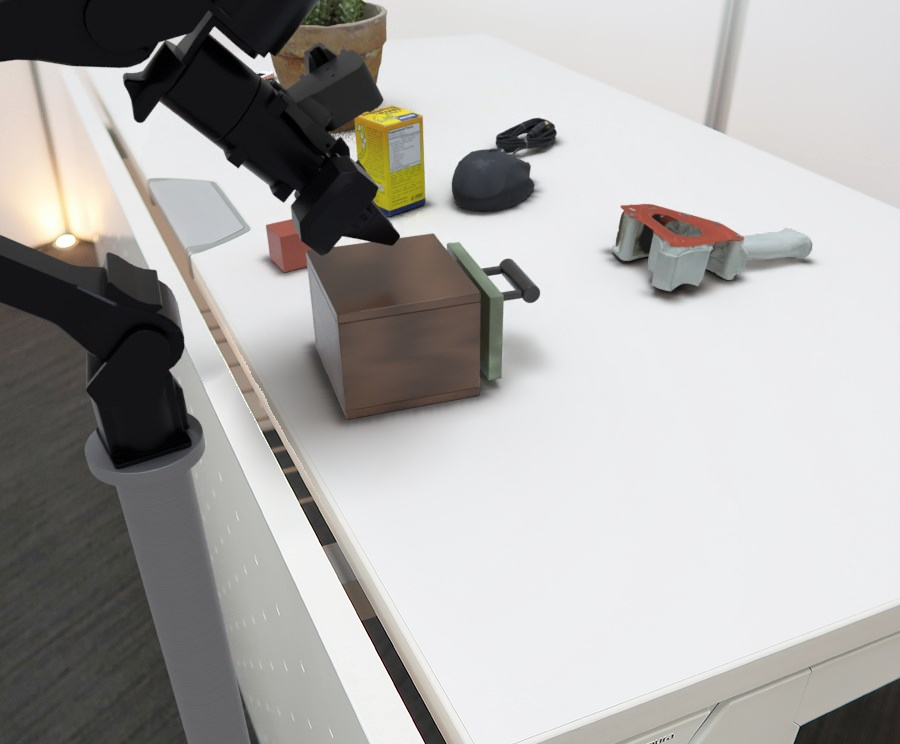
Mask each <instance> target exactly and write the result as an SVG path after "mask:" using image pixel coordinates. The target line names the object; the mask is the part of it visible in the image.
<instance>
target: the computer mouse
mask: <svg viewBox="0 0 900 744" xmlns="http://www.w3.org/2000/svg"><path fill="white" fill-rule="evenodd" d="M557 132H558V131H557V130H556V125H555V124H554V123H553V122H551V121H550V120H548V119H546V118H541V117H534V118H530V119H527V120H525V121H522V122H520V123H519V124H516V125H514V126H512V127H509V128H508V129H506V130H504V131H502V132H499V133H498V134H496V136H495V142H494V143H495V146H496V148H490V149H489V148H488V149H487V148H485V149H478V150H473V151H470V152H469V153H468V154H466V155H464V157H462V159H461V160H459V161H458V163H457V165H456V167H455V169H454V172H453V174H452V179H451V193H452V197H453V199H454V202H455V203H456V204H457V205H458V206H459V207H461V208H462V209H465V210H469V211H475V212H494V211H501V210H504V209H508V208H511V207H514V206H516V205H518V204H520V203H521V202H523V200H524V199H526V198H527V197H528V196H529V195H530V194H531V193H532V191H533V190H534V189H535V182H534V180H533V179H532V178H531V177H530V176H531V168H532V165H531V163H530V162H528V161H525V160H523V159H520V158H519V157H517V156H516V154H517V153H518V152H520V151H522V150H528V149H529V150H532V149H538V148H543V147H545V146H549V145H551V144H554V143H555V141H556V139H557V138H556V136H557V134H558V133H557ZM524 134H526V135H525V137H519V136H521V135H524Z"/></svg>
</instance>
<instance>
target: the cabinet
mask: <svg viewBox="0 0 900 744" xmlns="http://www.w3.org/2000/svg"><path fill="white" fill-rule="evenodd" d="M306 257H307V267H306V268H307V274H308V276H307V277H308V284H309V294H310V303H311V304H310V305H311V313H312V314H311V315H312V320H313V322H312V323H313V332H314V340H315V341H314V342H315V348H316V350H317V353H318V355H319V358H320V360H321V362H322V365H323V367H324V370H325V372H326V375H327V377H328V379H329V382H330V384H331V386H332V389H333V391H334V393H335V395H336V399H337V401H338V403H339V406H340V407H341V410H342V412H343V415H344V417H345V420H352V419H358V418H362V417H368V416H372V415H373V416H374V415H379V414H383V413H390V412H396V411H400V410H406V409H411V408H416V407H423V406H427V405H433V404H439V403H443V402H449V401H455V400H460V399H465V398H466V399H467V398H470V397H475V396H480V388H481V387H480V386H481V385H480V383H481V382H480V380H481V379H480V378H481V377H480V376H481V368H480V308H481V302H480V300H481V293H480V292H479V290H478V289H477V288H476V286H475V285H474V284H473V283H472V281H471V280H470V279H469V278H468V276H467V275H466V274H465V273H464V271H463V270H462V269H461V267H460V266H459V265H458V264H457V262H456V261H455V260H454V259H453V257H452V256H451V255H450V254H449V252H448V251H447V247H445V246H444V245H443V243H442V242H441V241H440V239H439V238H438V237H437V236H436V234H435V233H433V232H432V233H425V234H419V235H410V236H403V237H400V238H399V239H398V241H397V242H396V243H395V244H394V245H393V246H389V245H384V244H379V243H374V242H369V241H365V242H359V243H353V244H344V245H337V246H334V247H333V248H332V249H331V250H330V252H329V253H327V254H325V255H323V256H321V255H319V254H318V253H317V252H315V251H314V250H308V251H306Z"/></svg>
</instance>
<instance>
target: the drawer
mask: <svg viewBox="0 0 900 744" xmlns="http://www.w3.org/2000/svg"><path fill="white" fill-rule="evenodd" d="M446 250H447V251H448V252H449V254H450V255H451V256H452V257H453V259H454V260H455V261H456V262H457V264H458V265H459V266H460V267H461V269H462V270H463V271H464V273H465V274H466V275H467V276H468V278H469V279H470V280H471V281H472V283H473V284H474V285H475V286H476V288H477V289H478V290H479V292H480V293H481V300H480V302H481V308H480V371H482V373H483V374H484V376H485V377H486V379H487V380H488V381H492V380H498V379H502V373H503V372H502V371H503V341H504V340H503V339H504V338H503V337H504V333H503V332H504V303H505V302H506V301H514V300H520V299H522V301H524V302H525V303H527V304H533V303H536V301H538V300H539V298H540V297H541V289H540V288H539V287H538V285H536V284H535V282H534V281H533V280H532V279H531V278H530V276H528V275H527V274H526V273H525V272H524V270H523V269H522V268H521V267H520V266H519V265H518V263H516V261H515V260H514V259H512V258H505V259H503V260H501V262H500V263H499V265H496V266H489V267H481V266H480V265H479V264H478V263H477V262H476V260H475V259H474V258H473V256H471V255H470V253H469V252H468V251H467V249H466V248H465V247H464V246H463V245H462V244H461V242H459V241H456V242H449V243H446ZM498 275H502V277H503V278H504V279H505V280H506V281H507V283H508V284H509V285H510V286H511V287H512V288H513V289H514V290H508V291H502V292H501V291H500V290H499V288H498V287H497V286H496V285H495V283H494V282H493V281H492V280H491V279H490V276H498Z"/></svg>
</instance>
